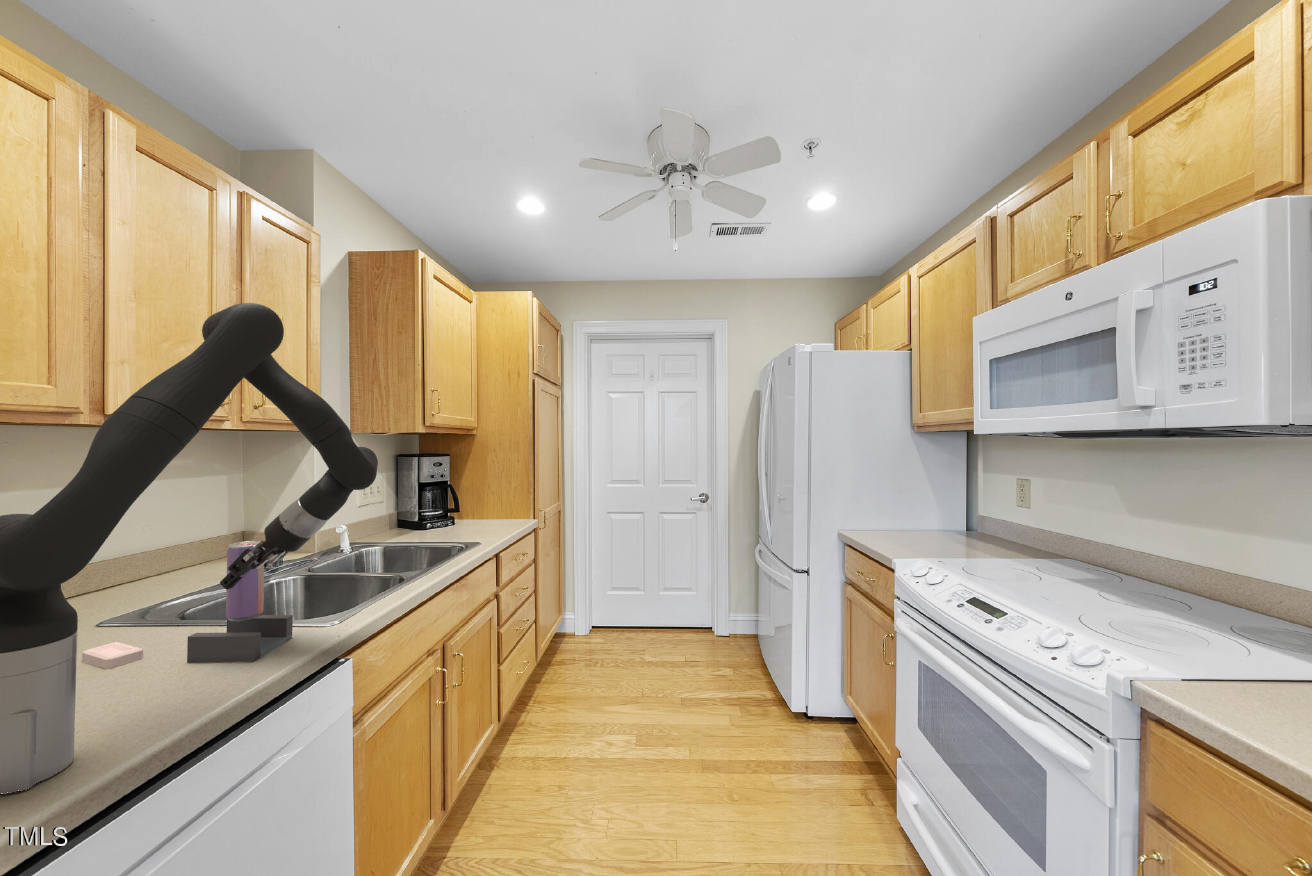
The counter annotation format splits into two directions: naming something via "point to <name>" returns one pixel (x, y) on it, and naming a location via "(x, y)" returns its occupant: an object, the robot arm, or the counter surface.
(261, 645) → the duct channel
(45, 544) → the robot arm
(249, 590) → the beverage can
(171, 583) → the counter surface
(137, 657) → the soap bar
